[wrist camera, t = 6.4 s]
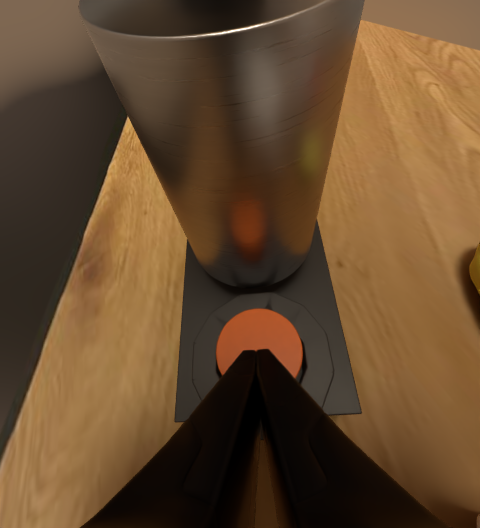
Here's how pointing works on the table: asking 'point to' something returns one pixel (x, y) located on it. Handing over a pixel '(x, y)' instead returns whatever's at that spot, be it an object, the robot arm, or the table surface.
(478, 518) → the mug
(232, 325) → the switch
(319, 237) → the push button box
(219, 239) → the silver metal canister
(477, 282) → the lemon
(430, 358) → the table surface
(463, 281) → the table surface
